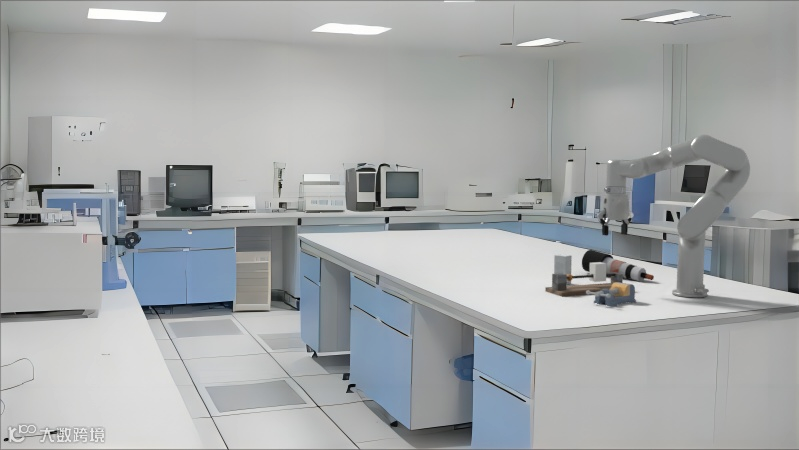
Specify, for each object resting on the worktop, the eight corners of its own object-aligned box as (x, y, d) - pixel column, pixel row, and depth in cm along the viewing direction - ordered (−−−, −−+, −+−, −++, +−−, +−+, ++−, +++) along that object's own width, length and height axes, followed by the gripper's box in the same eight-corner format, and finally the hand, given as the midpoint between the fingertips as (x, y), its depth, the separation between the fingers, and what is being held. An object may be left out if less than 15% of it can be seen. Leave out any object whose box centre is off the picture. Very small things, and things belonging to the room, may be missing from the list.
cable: (647, 293, 325) (643, 274, 321) (584, 275, 352) (579, 257, 347) (661, 281, 330) (657, 261, 326) (597, 263, 356) (593, 245, 352)
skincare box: (571, 284, 323) (572, 255, 321) (565, 285, 320) (565, 256, 319) (559, 282, 327) (560, 254, 326) (553, 283, 324) (553, 254, 323)
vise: (615, 298, 292) (616, 280, 291) (639, 302, 284) (639, 284, 283) (584, 303, 281) (585, 285, 280) (608, 308, 273) (608, 289, 272)
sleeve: (605, 281, 306) (606, 263, 305) (595, 281, 304) (595, 264, 303) (599, 279, 310) (600, 262, 309) (589, 280, 308) (589, 262, 307)
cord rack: (627, 291, 305) (628, 272, 304) (561, 296, 295) (562, 276, 294) (609, 286, 316) (609, 268, 316) (545, 291, 306) (545, 272, 305)
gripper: (602, 191, 300) (601, 236, 301) (640, 191, 306) (638, 235, 307) (591, 190, 307) (590, 234, 308) (628, 190, 313) (627, 233, 314)
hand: (614, 234), depth 308 cm, fingers open, 8 cm apart
